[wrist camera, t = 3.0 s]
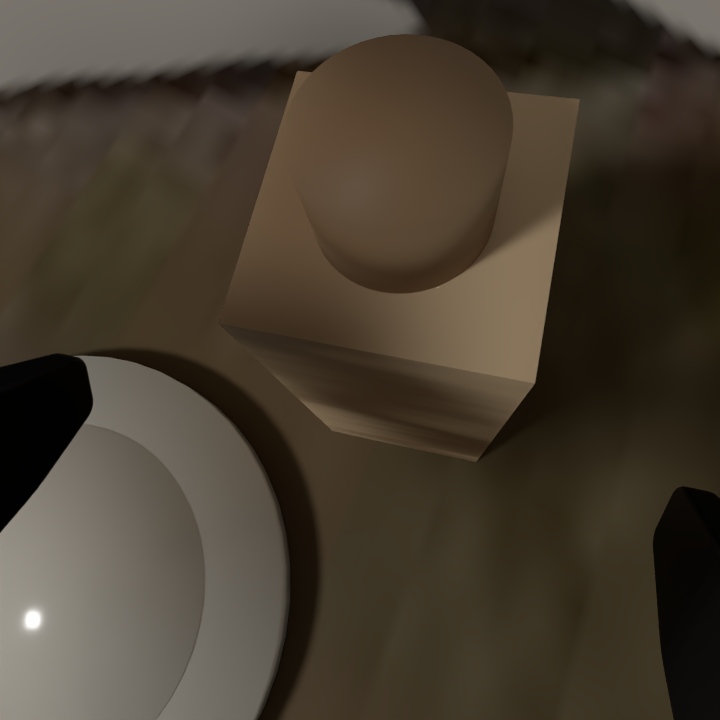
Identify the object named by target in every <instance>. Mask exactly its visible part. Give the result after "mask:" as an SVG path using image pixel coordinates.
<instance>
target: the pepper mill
mask: <svg viewBox="0 0 720 720" xmlns="http://www.w3.org/2000/svg"><path fill="white" fill-rule="evenodd" d="M579 100H580V99H571V98H561V97H551V96H541V95H531V94H521V93H511V92H506V89H505V88H504V86H503V84H502V83H501V81H500V79H499V78H498V76H497V75H496V74H495V73H494V71H493V70H492V69H491V68H490V67H489V66H488V65H487V64H486V63H485V62H484V61H483V60H482V59H480V58H479V57H478V56H476V55H475V54H473V53H472V52H471V51H469V50H467V49H465V48H463V47H461V46H459V45H457V44H454V43H452V42H449V41H447V40H443V39H439V38H435V37H430V36H423V35H409V34H402V35H389V36H384V37H378V38H374V39H370V40H367V41H363V42H360V43H358V44H355V45H353V46H350V47H348V48H346V49H344V50H342V51H341V52H339V53H337V54H335V55H334V56H332V57H331V58H329V59H328V60H326V61H325V62H324V63H322V64H321V65H320V66H319V67H318V68H317V69H315V70H314V71H313V72H302V71H297V74H296V77H295V80H294V83H293V87H292V90H291V93H290V96H289V99H288V102H287V106H286V109H285V112H284V115H283V118H282V122H281V125H280V128H279V131H278V134H277V138H276V141H275V144H274V147H273V150H272V154H271V157H270V160H269V163H268V166H267V169H266V173H265V176H264V179H263V182H262V185H261V189H260V192H259V195H258V198H257V201H256V205H255V208H254V211H253V214H252V217H251V221H250V224H249V227H248V230H247V233H246V236H245V240H244V243H243V246H242V249H241V252H240V256H239V259H238V262H237V265H236V268H235V272H234V275H233V278H232V281H231V284H230V287H229V291H228V294H227V297H226V300H225V303H224V307H223V310H222V313H221V316H220V319H219V324H220V325H221V326H222V327H223V328H224V329H225V330H226V331H227V332H228V333H229V334H230V335H231V336H232V337H233V338H234V339H236V340H237V341H238V342H239V343H240V344H241V345H242V346H243V347H244V348H245V349H246V350H247V351H248V352H249V353H250V354H251V355H253V356H254V357H255V358H256V359H257V360H258V361H259V362H260V363H261V364H262V365H263V366H264V367H265V368H266V369H267V370H268V371H269V372H271V373H272V374H273V375H274V376H275V377H276V378H277V379H278V380H279V381H280V382H281V383H282V384H283V385H284V386H285V387H286V388H288V389H289V390H290V391H291V392H292V393H293V394H294V395H295V396H296V397H297V398H298V399H299V400H300V401H301V402H302V403H303V404H305V405H306V406H307V407H308V408H309V409H310V410H311V411H312V412H313V413H314V414H315V415H316V416H317V417H318V418H319V419H320V420H322V421H323V422H324V423H325V424H326V425H327V426H328V427H329V428H330V429H331V430H332V431H335V432H340V433H345V434H349V435H354V436H358V437H363V438H367V439H372V440H377V441H381V442H386V443H390V444H395V445H400V446H404V447H409V448H413V449H418V450H422V451H427V452H432V453H436V454H441V455H445V456H450V457H454V458H459V459H464V460H468V461H473V462H477V460H478V459H479V458H480V456H481V455H482V454H483V452H484V451H485V450H486V448H487V447H488V446H489V444H490V443H491V442H492V440H493V439H494V438H495V436H496V435H497V434H498V432H499V431H500V430H501V428H502V427H503V426H504V424H505V423H506V422H507V420H508V419H509V418H510V416H511V415H512V414H513V412H514V411H515V410H516V408H517V407H518V406H519V404H520V403H521V402H522V400H523V399H524V398H525V396H526V395H527V394H528V392H529V391H530V390H531V388H532V387H533V386H534V384H535V381H536V374H537V368H538V362H539V355H540V349H541V342H542V336H543V330H544V323H545V317H546V311H547V304H548V298H549V292H550V285H551V279H552V272H553V266H554V260H555V253H556V247H557V241H558V234H559V228H560V221H561V215H562V209H563V202H564V196H565V190H566V183H567V177H568V170H569V164H570V158H571V151H572V145H573V139H574V132H575V126H576V119H577V113H578V107H579Z"/></svg>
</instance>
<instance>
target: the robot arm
mask: <svg viewBox="0 0 720 720" xmlns="http://www.w3.org/2000/svg"><path fill="white" fill-rule="evenodd" d="M92 408H93V395H92V390H91V385H90V380H89V376H88V371H87V366H86V364H85V362H84V361H83V360H82V359H81V358H79V357H75V356H70V355H65V354H60V353H56V354H51V355H47V356H43V357H39V358H35V359H31V360H27V361H23V362H19V363H15V364H11V365H7V366H3V367H0V533H1V532H2V530H3V529H4V528H5V527H6V526H7V525H8V523H9V522H10V521H11V520H12V519H13V518H14V516H15V515H16V514H17V513H18V512H19V511H20V509H21V508H22V507H23V506H24V505H25V504H26V502H27V501H28V500H29V499H30V497H31V496H32V495H33V494H34V493H35V491H36V490H37V489H38V488H39V486H40V485H41V483H42V482H43V481H44V479H45V478H46V477H47V475H48V474H49V472H50V471H51V470H52V468H53V467H54V465H55V464H56V462H57V461H58V460H59V458H60V457H61V455H62V454H63V452H64V451H65V450H66V448H67V447H68V445H69V444H70V442H71V441H72V440H73V438H74V437H75V435H76V434H77V432H78V431H79V430H80V428H81V427H82V425H83V424H84V422H85V421H86V420H87V418H88V417H89V415H90V413H91V411H92ZM653 553H654V567H655V580H656V593H657V607H658V620H659V634H660V644H661V654H662V660H663V666H664V672H665V677H666V682H667V687H668V692H669V697H670V702H671V708H672V713H673V718H674V720H720V498H719V497H718V496H716V495H715V494H714V493H711V492H708V491H704V490H699V489H694V488H689V487H685V486H682V487H679V488H677V489H676V490H675V491H674V492H673V494H672V496H671V498H670V500H669V502H668V504H667V506H666V508H665V510H664V513H663V515H662V517H661V519H660V521H659V523H658V525H657V527H656V529H655V533H654V538H653Z"/></svg>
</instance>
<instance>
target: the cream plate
mask: <svg viewBox="0 0 720 720" xmlns="http://www.w3.org/2000/svg"><path fill="white" fill-rule="evenodd" d="M75 357H79V358H81V359H82V360H83V361H84V362H85V364H86V366H87V371H88V376H89V380H90V385H91V390H92V395H93V408H92V411H91V413H90V415H89V417H88V418H87V420H86V421H85V422H84V424H83V425H82V427H81V428H80V430H79V431H78V432H77V434H76V435H75V437H74V438H73V440H72V441H71V442H70V444H69V445H68V447H67V448H66V450H65V451H64V452H63V454H62V455H61V457H60V458H59V460H58V461H57V462H56V464H55V465H54V467H53V468H52V470H51V471H50V472H49V474H48V475H47V477H46V478H45V479H44V481H43V482H42V483H41V485H40V486H39V488H38V489H37V490H36V491H35V493H34V494H33V495H32V496H31V497H30V499H29V500H28V501H27V502H26V504H25V505H24V506H23V507H22V508H21V509H20V511H19V512H18V513H17V514H16V515H15V516H14V518H13V519H12V520H11V521H10V522H9V523H8V525H7V526H6V527H5V528H4V529H3V530H2V532H1V533H0V720H258V719H259V717H260V715H261V713H262V711H263V709H264V707H265V704H266V702H267V699H268V696H269V693H270V691H271V688H272V685H273V682H274V680H275V677H276V674H277V672H278V668H279V663H280V659H281V655H282V651H283V647H284V643H285V638H286V633H287V625H288V616H289V608H290V559H289V550H288V542H287V534H286V530H285V526H284V522H283V518H282V514H281V510H280V506H279V502H278V499H277V497H276V494H275V492H274V489H273V487H272V484H271V481H270V479H269V476H268V474H267V472H266V470H265V469H264V467H263V465H262V463H261V461H260V460H259V458H258V456H257V454H256V452H255V451H254V449H253V447H252V446H251V445H250V443H249V442H248V441H247V439H246V438H245V437H244V435H243V434H242V433H241V431H240V430H239V429H238V427H237V426H236V425H235V424H234V423H233V422H232V421H231V420H230V419H229V418H228V417H227V416H226V415H225V414H224V413H223V412H222V411H221V410H220V409H219V408H218V407H217V406H215V405H214V404H212V403H211V402H210V401H208V400H207V399H206V398H204V397H203V396H202V395H200V394H199V393H198V392H196V391H195V390H193V389H191V388H189V387H187V386H186V385H184V384H182V383H180V382H178V381H176V380H175V379H173V378H171V377H169V376H167V375H165V374H163V373H162V372H160V371H157V370H154V369H151V368H149V367H146V366H143V365H140V364H137V363H135V362H130V361H125V360H120V359H115V358H110V357H97V356H75Z"/></svg>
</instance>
